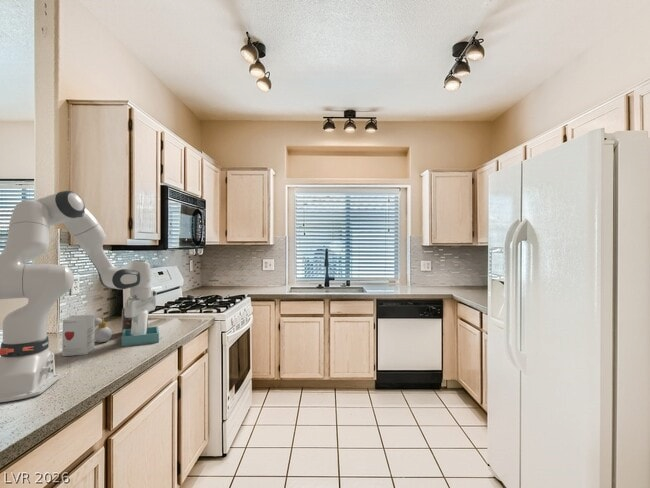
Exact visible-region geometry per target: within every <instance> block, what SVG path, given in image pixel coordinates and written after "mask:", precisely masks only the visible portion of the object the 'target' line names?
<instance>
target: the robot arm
mask: <svg viewBox="0 0 650 488" xmlns="http://www.w3.org/2000/svg"><path fill="white" fill-rule="evenodd" d="M59 224H63V225H64V226H65V228H66V230H67V231H68V233H69V234H70V236H71V237H72V238H73V240H74V241H75V242H76V243H77V244H78V246H79V247H80V248H81V249H82V251H83V252H84V253H85V254H86V255H87V257H88V258H89V260H90V261H91V263H92V265H93V266H94V268H95V269H96V271H97V274H98V278H99V282H100V284H101V285H102V286H103V287H104V288H107V289H114V290H126V289H130V290H129V297H128V298H127V299H126V302H125V304H124V308H125V310H124V316H125V317H126V318H132V319H133V321H134V323H135V322H136V323H137V325H138V315H140V314H141V310H146V309H147V312H148V315H149V313H151V312H152V311H155V309H156V307H157V297H156V296H157V295H158V293H157V291H156V290H153V289H152V285H151V281H152V268H151V264H150V263H149V262H148V261H146V260H139V259H134V260H132V261H131V262H129V263H128V264H125V265H123V266H120V267H117V266H115V265H114V264H113V263H112V262H111V261H110V259H109V257H108V255H107V254H106V253H105V251H104V247H103V246H104V244H105V242H106V239H107V235H106V233H105V231H104V228H103V227H102V226H101V223H100V222H99V221H98V220H97V218H96V217H95V216H94V215H93V214H92V212H91V211H90V210H89V209H87V208H86V205H85V202H84V200H83V198H82V197H81V196H80V195H79V194H78V193H76V192H74V191H72V190H64V191H63V190H62V191H59V192H57V193H53V194H50V195H47V196H43V197H40V198H38V199H36V200H32V199H30V200H22V201H19V202H18V203H17V204H16V205H15V206H14V209H13V210H12V213H11V215H10V219H9V224H8V231H7V237H6V238H7V239H6V242H5V247H4V248H3V250H2V252H1V253H0V300H11V299H28V301H27V303H26V304H25V305H24V306H22V307H19V308H17V309H15V310H13V311H11V312H8V314H6V316H5V317H4V318H3V321H2V342H1V343H0V403H6V402H13V401H18V400H23V399H28V398H32V397H35V396H39V395H41V394H42V393H43V392H45V391H46V390H47V389H49V388H50V387H51V386H53V384H55V383H56V382H57V381H58V380H60V379H61V378H62V374H61V373H56V366H55V363H56V362H55V354H54V353H53V352H52V351H50V349H49V344H50V340H49V336H48V320H49V315H50V311H51V310H52V307H53V305H54V304H55V303H56V302H57V301H58V299H59V298H61V297H62V296H64V295H66V293H68V292H69V291H70V290H71V288H72V287H73V285H74V282H75V276H74V273H73V271H72V270H71V268H70V267H68V266H67V265H62V264H55V263H30V262H31V261H33V260H35V259H39V258H40V257H42V256H44V255H45V254H46V253H47V251H49V248H50V234H51V233H50V232H51V227H52V226H55V225H59ZM29 263H30V264H29Z"/></svg>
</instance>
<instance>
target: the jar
mask: <svg viewBox="0 0 650 488" xmlns="http://www.w3.org/2000/svg"><path fill="white" fill-rule="evenodd" d="M124 310H125V307H122V310H121V334H123V330H125V329H131V324H132V318H126V317H125V316H124ZM148 320H149V317H147V327H148V325H149V321H148Z"/></svg>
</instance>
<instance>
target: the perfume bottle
mask: <svg viewBox="0 0 650 488" xmlns="http://www.w3.org/2000/svg"><path fill="white" fill-rule="evenodd" d="M94 327H97V328H95V329H94V342H96V343H99V344H100V343H105V342H108V341H109V340H110V339H111V338H112V334H113V333H112V330H111V328H109V327H108V326H107V322H106V321H105V319H104V316H101V318H100V317H96V318H95V320H94Z"/></svg>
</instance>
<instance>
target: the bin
mask: <svg viewBox="0 0 650 488" xmlns="http://www.w3.org/2000/svg"><path fill="white" fill-rule="evenodd" d="M159 331H160V330H159V326H157V325H156V326H149V327H147V330H146V334H143V335H133V336H132V335H131V329H125V330H123V334H122V333H121V334H122V335H121V347H129V346H138V345H146V344H155V343H156V344H157V343H159V342H160V332H159Z"/></svg>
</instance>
